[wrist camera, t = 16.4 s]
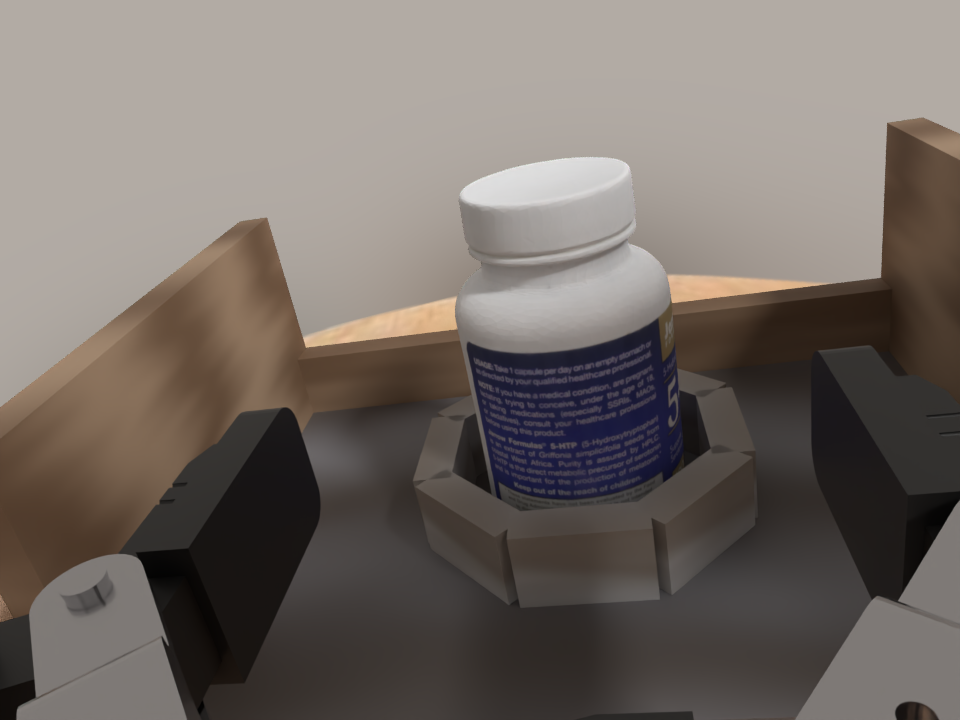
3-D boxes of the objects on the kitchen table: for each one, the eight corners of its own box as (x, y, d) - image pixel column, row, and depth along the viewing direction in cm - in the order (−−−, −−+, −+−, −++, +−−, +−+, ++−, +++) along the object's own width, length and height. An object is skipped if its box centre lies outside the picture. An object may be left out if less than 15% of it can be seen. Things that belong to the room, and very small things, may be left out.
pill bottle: (726, 523, 20) (705, 171, 16) (527, 586, 19) (458, 233, 15) (636, 427, 25) (604, 138, 21) (474, 475, 24) (411, 184, 20)
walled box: (1231, 734, 14) (1367, 313, 11) (96, 766, 18) (-73, 463, 14) (908, 356, 27) (923, 117, 24) (302, 420, 31) (239, 221, 28)
